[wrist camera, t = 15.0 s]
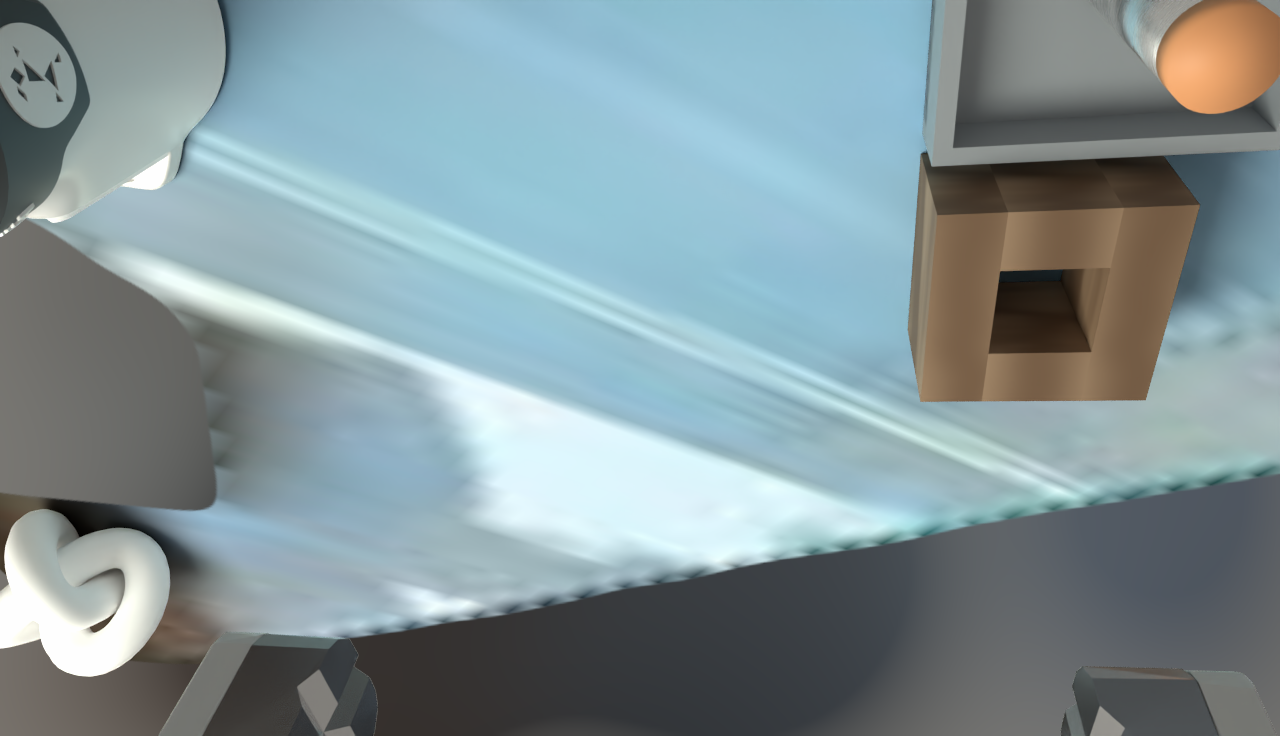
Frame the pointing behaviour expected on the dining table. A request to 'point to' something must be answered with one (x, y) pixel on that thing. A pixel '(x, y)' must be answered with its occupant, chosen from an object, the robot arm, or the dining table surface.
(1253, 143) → the tray
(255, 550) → the dining table surface
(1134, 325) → the hitch block
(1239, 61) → the pin
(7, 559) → the white knot
